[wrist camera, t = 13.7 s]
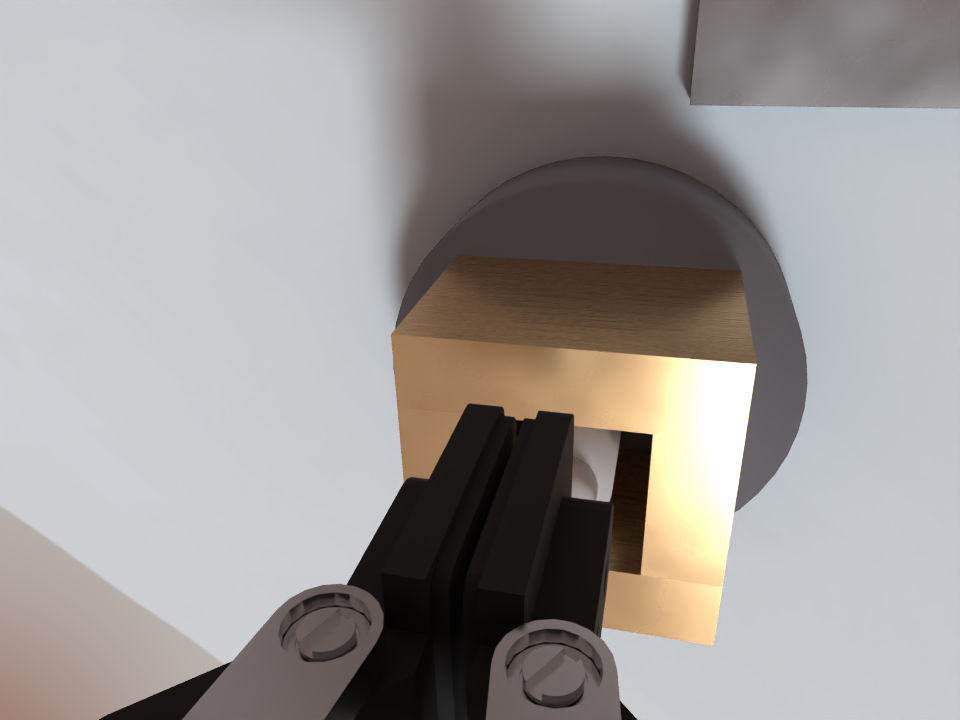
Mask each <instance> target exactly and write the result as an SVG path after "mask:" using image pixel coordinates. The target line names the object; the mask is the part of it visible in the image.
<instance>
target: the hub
mask: <svg viewBox="0 0 960 720" xmlns="http://www.w3.org/2000/svg"><path fill="white" fill-rule="evenodd" d="M457 255H465V256H483V257H501V258H519V259H537V260H555V261H573V262H591V263H609V264H627V265H645V266H663V267H681V268H699V269H717V270H735V271H741V272H742V278H743V285H744V291H745V297H746V303H747V309H748V316H749V322H750V328H751V334H752V341H753V347H754V353H755V359H756V370H755V376H754V383H753V390H752V396H751V403H750V409H749V416H748V422H747V429H746V436H745V442H744V449H743V455H742V462H741V468H740V475H739V482H738V488H737V495H736V501H735V508H734V512H736V511H738V510H739V509H740V508H742V507H743V506H744V505H745V504H746V503H747V502H749V501H750V500H751V499H752V498H753V497H754V496H756V495H757V494H758V493H759V492H760V491H761V489H762V488H763V487H764V486H765V485H766V484H767V483H768V482H769V480H770V479H771V478H772V477H773V476H774V475H775V473H776V472H777V470H778V469H779V467H780V465H781V464H782V462H783V461H784V459H785V458H786V456H787V455H788V453H789V450H790V448H791V446H792V444H793V442H794V439H795V437H796V435H797V433H798V430H799V426H800V422H801V419H802V415H803V412H804V408H805V399H806V390H807V364H806V354H805V349H804V344H803V339H802V335H801V330H800V327H799V323H798V320H797V317H796V313H795V310H794V307H793V303H792V300H791V297H790V293H789V290H788V287H787V284H786V281H785V279H784V276H783V273H782V271H781V268H780V266H779V263H778V261H777V260H776V258H775V256H774V254H773V252H772V251H771V249H770V247H769V245H768V243H767V242H766V240H765V239H764V238H763V236H762V235H761V234H760V233H759V231H758V230H757V229H756V227H755V226H754V225H753V224H752V222H751V221H750V220H749V219H748V218H747V217H746V216H745V215H744V214H743V213H742V212H741V211H740V210H739V209H738V208H737V207H736V206H734V205H733V204H732V203H731V202H730V201H728V200H727V199H726V198H724V197H723V196H722V195H720V194H719V193H717V192H716V191H715V190H713V189H712V188H711V187H709V186H707V185H705V184H703V183H701V182H700V181H698V180H696V179H694V178H692V177H690V176H688V175H686V174H684V173H681V172H678V171H676V170H673V169H670V168H668V167H665V166H662V165H659V164H654V163H650V162H646V161H641V160H637V159H629V158H619V157H582V158H576V159H570V160H564V161H558V162H554V163H551V164H548V165H544V166H541V167H538V168H535V169H532V170H529V171H527V172H525V173H523V174H521V175H519V176H517V177H514V178H512V179H510V180H508V181H507V182H505V183H504V184H502V185H501V186H499V187H498V188H496V189H494V190H493V191H491V192H490V193H488V194H487V195H486V196H485V197H484V198H483V199H481V200H480V201H479V202H478V203H477V204H476V205H475V206H473V207H472V208H471V209H470V210H469V211H468V212H467V213H466V214H465V215H464V216H463V218H462V219H461V220H460V221H459V222H458V223H457V224H456V225H455V226H454V227H453V228H452V229H451V230H450V231H449V232H448V233H447V234H446V235H445V236H444V238H443V239H442V240H441V241H440V242H439V243H438V244H437V245H436V247H435V248H434V249H433V250H432V251H431V252H430V253H429V255H428V256H427V257H426V258H425V259H424V261H423V263H422V264H421V266H420V267H419V269H418V270H417V272H416V274H415V275H414V277H413V278H412V280H411V282H410V285H409V287H408V289H407V291H406V294H405V296H404V298H403V300H402V304H401V307H400V311H399V315H398V318H397V322H396V328H397V327H398V326H399V324H400V323H401V322H402V321H403V320H404V318H405V317H406V316H407V315H408V314H409V312H410V311H411V310H412V309H413V308H414V306H415V305H416V304H417V303H418V302H419V301H420V299H421V298H422V297H423V296H424V295H425V293H426V292H427V291H428V290H429V289H430V287H431V286H432V285H433V284H434V283H435V281H436V280H437V279H438V278H439V277H440V276H441V274H442V273H443V272H444V271H445V270H446V268H447V267H448V266H449V265H450V264H451V262H452V261H453V260H454V259H455V258H456V257H457ZM396 328H395V329H396ZM393 363H394V362H393ZM394 374H395V373H394ZM652 441H653V434H646V433H637V432H627V431H618V430H608V429H599V428H589V427H580V426H574V445H573V471H572V497H573V498H581V499H589V500H596V501H604V502H609V501H610V499H611V495H612V489H613V482H614V476H615V470H616V463H617V457H618V451H619V447H626V448H635V449H644V450H652Z"/></svg>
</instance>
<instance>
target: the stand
mask: <svg viewBox="0 0 960 720" xmlns="http://www.w3.org/2000/svg"><path fill="white" fill-rule="evenodd" d="M690 105H719V106H798V107H877V108H956V109H960V0H700V1H699V12H698V22H697V32H696V43H695V53H694V63H693V74H692V84H691V94H690Z"/></svg>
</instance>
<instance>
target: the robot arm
mask: <svg viewBox="0 0 960 720" xmlns="http://www.w3.org/2000/svg"><path fill="white" fill-rule="evenodd" d="M573 445H574V414H569V413H560V412H550V411H538V413H537V416H536V418H535V419H529V418H524V420H523V423H522V425H521V428H520V431H519V433H518V436H517V439H516V419H515V417H511V416H505V413H504V408H503V407H501V406H492V405H482V404H472V403H469V404H468V405H467V406H466V408H465V410H464V412H463V414H462V415H461V417H460V419H459V421H458V423H457V425H456V427H455V429H454V431H453V433H452V435H451V437H450V439H449V441H448V443H447V445H446V447H445V449H444V450H443V452H442V454H441V456H440V458H439V460H438V462H437V464H436V466H435V468H434V470H433V472H432V474H431V476H430V478H429V479H424V478H416V477H410V478H407V480H406V481H405V482H404V484H403V485H402V487H401V489H400V490H399V492H398V494H397V496H396V498H395V499H394V501H393V503H392V505H391V507H390V508H389V510H388V512H387V514H386V515H385V517H384V519H383V521H382V523H381V524H380V526H379V528H378V530H377V532H376V533H375V535H374V537H373V539H372V541H371V542H370V544H369V546H368V548H367V549H366V551H365V553H364V555H363V557H362V558H361V560H360V562H359V564H358V566H357V567H356V569H355V571H354V573H353V574H352V576H351V578H350V580H349V582H348V583H347V585H343V584H332V585H321V586H318V587H314V588H311V589H308V590H305V591H303V592H301V593H299V594H297V595H295V596H294V597H292V598H290V599H289V600H287V601H286V602H285V603H284V604H283V605H282V606H281V607H280V608H278V609H277V610H276V612H275V613H274V614H273V615H272V616H271V617H270V618H269V620H268V621H267V622H266V623H265V624H264V625H263V627H262V628H261V629H260V630H259V631H258V632H257V633H256V635H255V636H254V637H253V638H252V639H251V640H250V642H249V643H248V644H247V645H246V646H245V647H244V649H243V650H242V651H241V652H240V653H239V654H238V655H237V657H236V658H235V659H234V660H233V661H232V662H229V663H227V664H225V665H222V666H220V667H218V668H215V669H213V670H211V671H209V672H206V673H204V674H201V675H199V676H197V677H195V678H192V679H190V680H188V681H185V682H183V683H181V684H178V685H176V686H174V687H171V688H169V689H167V690H164V691H162V692H160V693H157V694H155V695H153V696H150V697H148V698H146V699H144V700H141V701H139V702H136V703H134V704H132V705H129V706H127V707H125V708H122V709H120V710H118V711H115V712H113V713H111V714H108V715H107V716H105V717H103V718H101V719H99V720H637V719H636V718H635V717H634V716H633V714H632V713H631V712H630V711H629V710H628V709H627V708H626V707H625V706H624V705H623V704H622V702H621V701H620V698H619V686H618V675H617V668H616V664H615V661H614V657H613V654H612V652H611V651H610V650H609V648H608V647H607V645H606V644H605V643H604V641H603V640H602V639H601V630H602V623H603V615H604V608H605V600H606V592H607V583H608V574H609V564H610V552H611V539H612V525H613V508H614V504H613V503H612V502H604V501H596V500H589V499H581V498H573V497H572V471H573Z"/></svg>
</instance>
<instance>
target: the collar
mask: <svg viewBox="0 0 960 720" xmlns="http://www.w3.org/2000/svg"><path fill="white" fill-rule="evenodd" d="M391 339H392V350H393V362H394V373H395V385H396V396H397V407H398V419H399V430H400V442H401V453H402V465H403V476H404V482H405V481H406V480H407V478H410V477H416V478H424V479H429V478H430V476H431V474H432V472H433V470H434V468H435V466H436V464H437V462H438V460H439V458H440V456H441V454H442V452H443V450H444V449H445V447H446V445H447V443H448V441H449V439H450V437H451V435H452V433H453V431H454V429H455V427H456V425H457V423H458V421H459V419H460V417H461V415H462V414H463V412H464V410H465V408H466V406H467V405H468V404H469V403H472V404H482V405H492V406H501V407H503V408H504V413H505V416H511V417H515V419H516V439H517V436H518V433H519V431H520V428H521V425H522V423H523V420H524V418H529V419H535V418H536V416H537V413H538V411H550V412H560V413H569V414H574V426H580V427H589V428H599V429H608V430H618V431H627V432H637V433H646V434H653V441H652V450H644V449H635V448H626V447H619V451H618V457H617V463H616V470H615V476H614V482H613V489H612V495H611V499H610V501H609V502H612V503H613V504H614V508H613V525H612V539H611V552H610V564H609V574H608V583H607V592H606V600H605V608H604V615H603V623H602V627H604V628H610V629H616V630H622V631H628V632H634V633H640V634H646V635H652V636H658V637H664V638H670V639H677V640H683V641H689V642H695V643H701V644H707V645H713V646H714V639H715V633H716V626H717V620H718V613H719V607H720V600H721V593H722V587H723V580H724V574H725V567H726V561H727V554H728V547H729V541H730V534H731V528H732V521H733V514H734V508H735V501H736V495H737V488H738V482H739V475H740V468H741V462H742V455H743V449H744V442H745V436H746V429H747V422H748V416H749V409H750V403H751V396H752V390H753V383H754V376H755V370H756V359H755V353H754V347H753V341H752V334H751V328H750V322H749V316H748V309H747V303H746V297H745V291H744V285H743V278H742V272H741V271H735V270H717V269H699V268H681V267H663V266H645V265H627V264H609V263H591V262H573V261H555V260H537V259H519V258H501V257H483V256H465V255H457V257H456V258H455V259H454V260H453V261H452V262H451V264H450V265H449V266H448V267H447V268H446V270H445V271H444V272H443V273H442V274H441V276H440V277H439V278H438V279H437V280H436V281H435V283H434V284H433V285H432V286H431V287H430V289H429V290H428V291H427V292H426V293H425V295H424V296H423V297H422V298H421V299H420V301H419V302H418V303H417V304H416V305H415V306H414V308H413V309H412V310H411V311H410V312H409V314H408V315H407V316H406V317H405V318H404V320H403V321H402V322H401V323H400V324H399V326H398V327H397V328H396V329H395V330H394V331H393V333H392V334H391Z"/></svg>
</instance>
